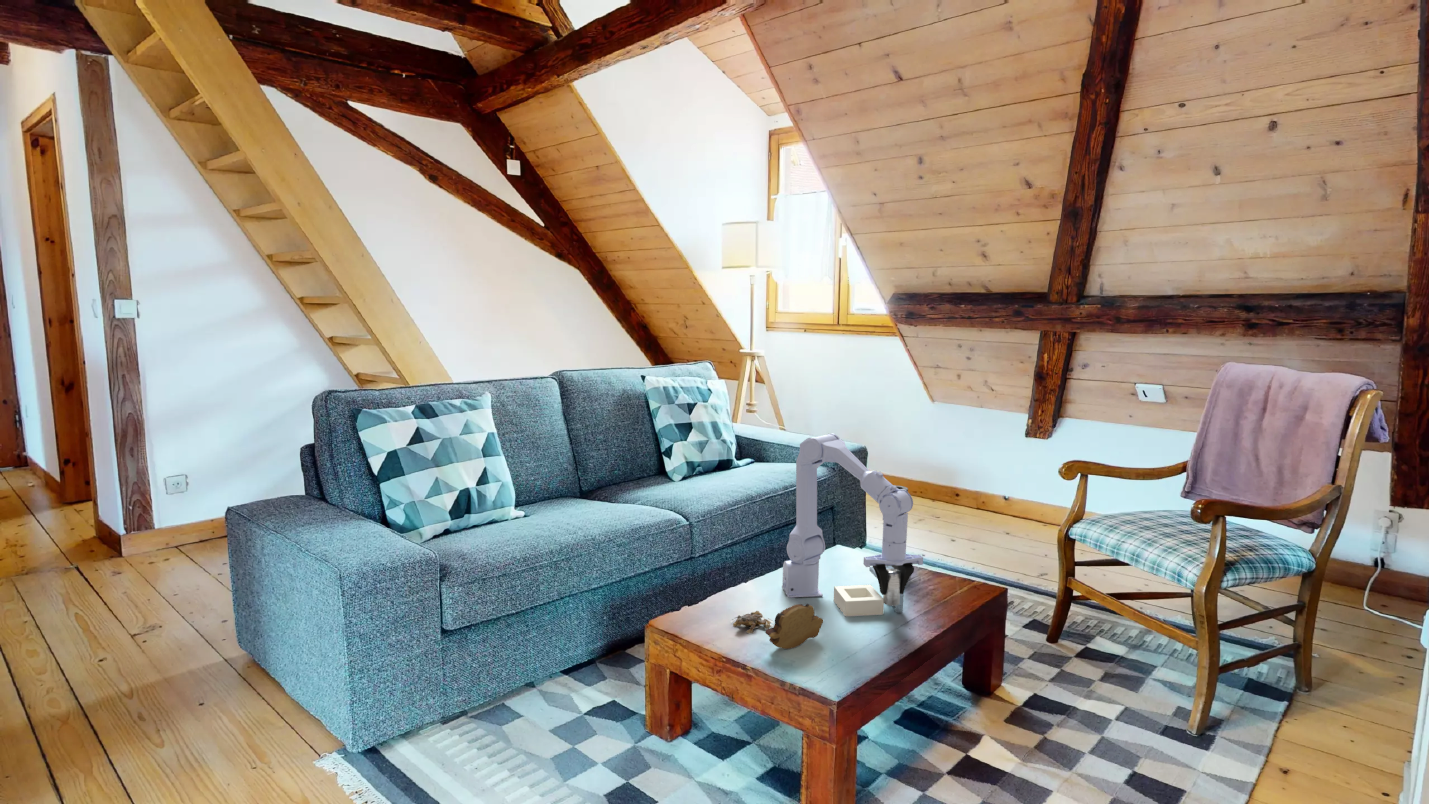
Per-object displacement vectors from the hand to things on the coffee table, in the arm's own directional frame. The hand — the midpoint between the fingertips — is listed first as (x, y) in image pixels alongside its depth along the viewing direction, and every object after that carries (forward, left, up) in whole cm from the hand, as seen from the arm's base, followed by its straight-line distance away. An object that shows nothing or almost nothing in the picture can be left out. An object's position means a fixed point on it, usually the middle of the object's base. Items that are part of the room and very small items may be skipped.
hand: (891, 592), depth 199 cm
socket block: (-5, +10, -8) cm, 14 cm away
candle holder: (+14, +34, -8) cm, 38 cm away
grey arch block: (+3, +10, -8) cm, 13 cm away
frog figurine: (-34, +3, -9) cm, 35 cm away
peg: (0, 0, -3) cm, 2 cm away
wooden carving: (-27, -9, -8) cm, 30 cm away
